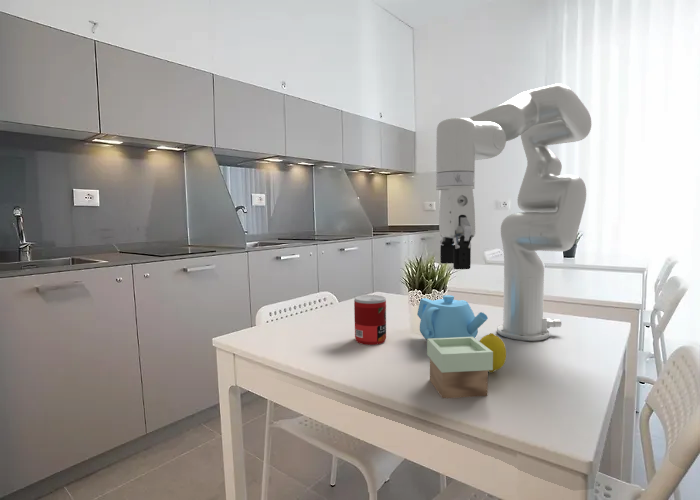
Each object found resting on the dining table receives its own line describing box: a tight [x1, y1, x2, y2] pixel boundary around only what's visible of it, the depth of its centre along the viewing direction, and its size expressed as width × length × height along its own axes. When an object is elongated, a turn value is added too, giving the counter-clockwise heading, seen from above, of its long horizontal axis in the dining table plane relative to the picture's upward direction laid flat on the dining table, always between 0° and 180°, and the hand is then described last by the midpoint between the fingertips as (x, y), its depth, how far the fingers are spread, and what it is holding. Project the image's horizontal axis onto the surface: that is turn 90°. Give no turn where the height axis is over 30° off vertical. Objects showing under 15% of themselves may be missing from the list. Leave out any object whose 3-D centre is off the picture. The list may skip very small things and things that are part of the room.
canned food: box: [353, 294, 387, 346], centre depth 104 cm, size 8×8×11 cm
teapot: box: [417, 294, 488, 340], centre depth 101 cm, size 20×17×12 cm
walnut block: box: [429, 358, 489, 399], centre depth 76 cm, size 8×8×5 cm
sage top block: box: [426, 337, 493, 373], centre depth 75 cm, size 9×9×3 cm
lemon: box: [478, 333, 507, 374], centre depth 82 cm, size 6×6×8 cm
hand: (454, 266), depth 85 cm, fingers open, 9 cm apart
